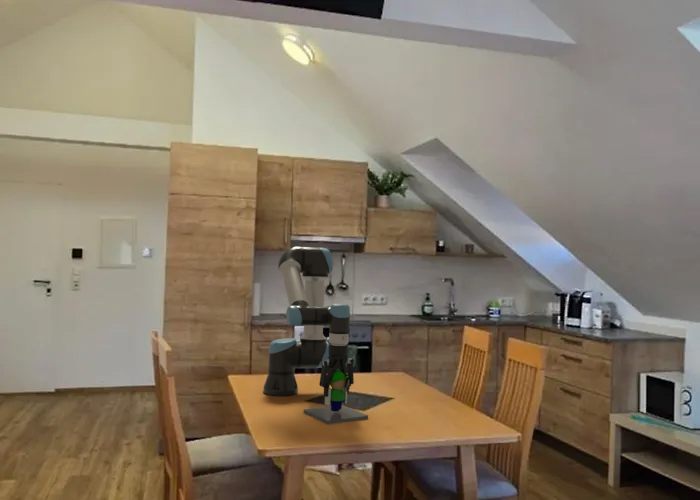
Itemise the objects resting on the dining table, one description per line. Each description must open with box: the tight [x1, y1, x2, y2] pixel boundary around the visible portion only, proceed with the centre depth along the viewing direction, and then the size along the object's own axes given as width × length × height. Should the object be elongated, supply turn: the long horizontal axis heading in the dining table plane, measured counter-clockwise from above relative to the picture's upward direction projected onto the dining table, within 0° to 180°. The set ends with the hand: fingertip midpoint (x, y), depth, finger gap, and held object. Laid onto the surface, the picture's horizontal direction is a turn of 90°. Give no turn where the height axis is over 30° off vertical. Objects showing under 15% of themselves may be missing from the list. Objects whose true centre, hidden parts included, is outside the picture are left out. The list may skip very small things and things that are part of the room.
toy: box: [330, 369, 351, 411], centre depth 233 cm, size 9×9×15 cm
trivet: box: [302, 404, 369, 425], centre depth 233 cm, size 18×18×1 cm
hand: (335, 403), depth 233 cm, fingers closed on toy, 7 cm apart
